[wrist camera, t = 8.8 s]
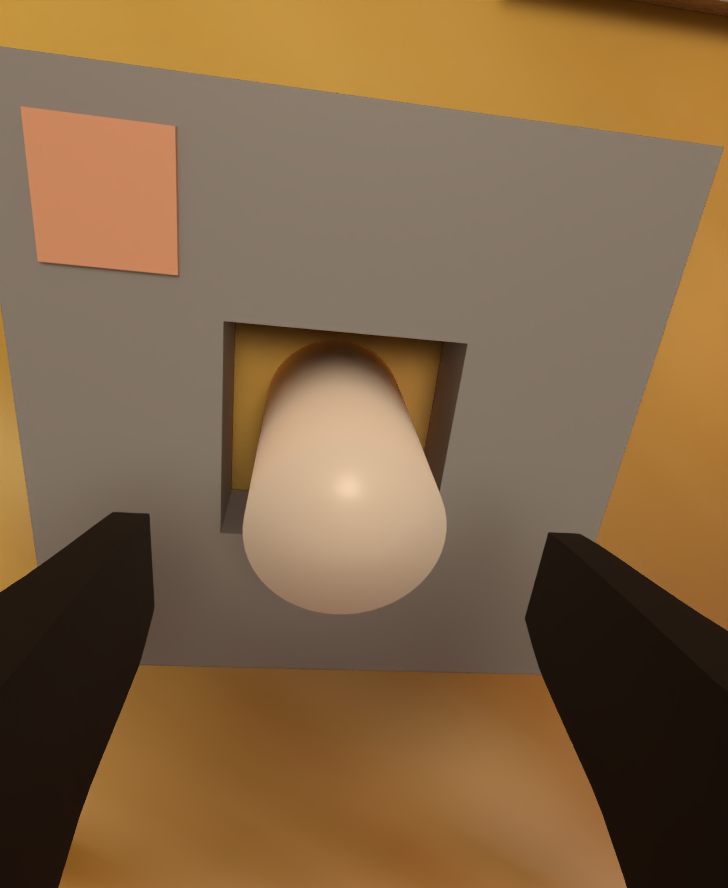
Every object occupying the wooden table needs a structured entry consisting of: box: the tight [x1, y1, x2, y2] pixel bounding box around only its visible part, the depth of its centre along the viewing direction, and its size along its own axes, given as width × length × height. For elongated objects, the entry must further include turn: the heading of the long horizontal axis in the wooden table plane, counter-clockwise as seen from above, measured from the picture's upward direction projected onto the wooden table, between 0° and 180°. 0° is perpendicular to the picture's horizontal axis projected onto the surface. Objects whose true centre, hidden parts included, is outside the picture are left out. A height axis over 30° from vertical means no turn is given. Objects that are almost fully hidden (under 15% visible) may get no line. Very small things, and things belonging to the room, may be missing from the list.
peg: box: [243, 340, 447, 614], centre depth 15 cm, size 4×4×7 cm
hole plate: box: [0, 46, 724, 675], centre depth 17 cm, size 16×16×3 cm
